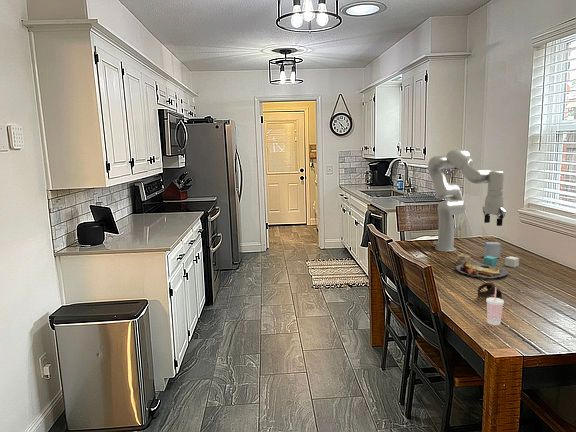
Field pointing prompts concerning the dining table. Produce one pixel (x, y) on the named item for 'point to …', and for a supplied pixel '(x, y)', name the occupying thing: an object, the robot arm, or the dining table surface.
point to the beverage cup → (494, 309)
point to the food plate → (480, 270)
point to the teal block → (490, 260)
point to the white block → (511, 261)
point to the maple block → (463, 258)
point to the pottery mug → (489, 291)
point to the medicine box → (492, 249)
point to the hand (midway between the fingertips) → (493, 224)
